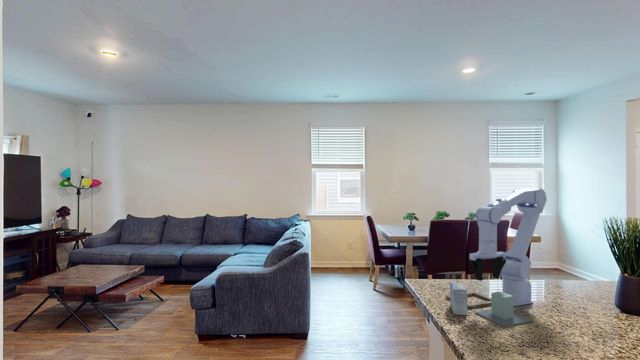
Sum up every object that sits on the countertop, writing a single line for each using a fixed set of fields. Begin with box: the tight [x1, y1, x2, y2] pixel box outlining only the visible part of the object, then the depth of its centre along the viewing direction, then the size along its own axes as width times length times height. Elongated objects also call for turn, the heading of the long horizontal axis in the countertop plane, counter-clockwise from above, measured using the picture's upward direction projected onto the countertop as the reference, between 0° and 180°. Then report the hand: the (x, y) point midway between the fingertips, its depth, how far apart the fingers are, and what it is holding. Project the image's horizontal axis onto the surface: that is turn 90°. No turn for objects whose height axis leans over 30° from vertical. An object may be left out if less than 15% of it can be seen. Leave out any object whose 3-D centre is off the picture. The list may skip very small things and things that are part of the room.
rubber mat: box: [474, 308, 534, 328], centre depth 114 cm, size 12×12×1 cm
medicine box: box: [449, 282, 469, 316], centre depth 120 cm, size 8×4×9 cm, turn 168°
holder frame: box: [445, 291, 492, 310], centre depth 129 cm, size 14×12×1 cm
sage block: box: [490, 291, 514, 319], centre depth 114 cm, size 4×5×7 cm
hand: (487, 279), depth 122 cm, fingers open, 7 cm apart
